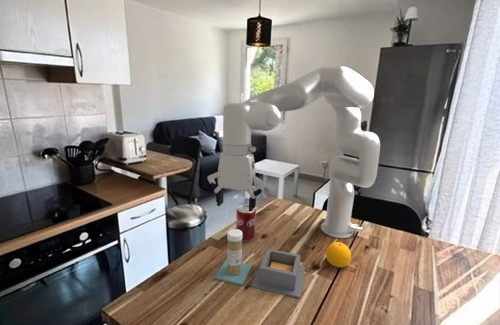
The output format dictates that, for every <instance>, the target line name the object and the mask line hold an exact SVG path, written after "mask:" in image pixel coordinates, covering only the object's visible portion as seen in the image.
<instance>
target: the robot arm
mask: <svg viewBox="0 0 500 325" xmlns="http://www.w3.org/2000/svg"><path fill="white" fill-rule="evenodd" d="M374 93H375V92H374V88H373V85H372V84H371V83H370V81H368V80H367V79H365V78H364V77H363V76H362V75H360V74H359V73H358V72H356V71H355V70H353V69H351V68H349V67H346V66H343V65H338V66H337V65H336V66H324V67H318V68H316V69H314V70H312V71H310V72H308V73H306V74H304V75H302V76H300V77H299V78H297V79H295V80H293V81H291V82H289V83H286V84H282V85H280V86H277V87H274V88H271V89H268V90H265V91H262V92H261V93H258V94H256V95H254V96H252V97H250V98H248V99H246V100H244V101H243V102H229V103H226V104H224V106H223V110H222V111H223V112H222V113H223V114H222V116H223V117H222V120H223V121H222V122H223V123H222V152H221V153H220V155H219V156H220V157H219V162H218V168H217V172H215V173H213V174H210V175H208V176H207V177H206V178H207V180H208V183H209V184H210V187H211V188H212V189H213V192H214V193H215V202H216V206H217V207H220V206H221V205H223V203H224V189H226V190H233V191H240V192H241V191H242V192H247V194H248V195H249V199H248V205H249V211H252V210H253V208H255V209H256V207H257V197H258V196H259V195H260V194H262V192H263V191H264V189H265V188H266V186H267V182H265V181H264V180H263V179H261V178H259V177H258V176H256V164H255V157H254V154H253V153H255V152H256V146H253V145H252V131H262V132H269V131H272V130H275V129H276V128H277V127H278V126H279V124H280V123H281V121H282V113H281V112H291V111H292V112H293V111H297V110H301V109H302V110H303V109H304V108H305V107H308V106H309V105H310V104H312V103H314V102H315V101H317V100H319V99H321V98H322V97H324V100H325V101H326V103H328V104H329V105H330V106H331V109H332V110H333V111H334V113H335V116H336V120H335V121H336V124H335V125H336V126H335V137H334V138H335V143H334V145H335V149H336V151H337V152H339V153H340V154H344V155H337V156H335V157H332V159H331V161H330V163H329V166H328V167H329V168H328V172H329V189H328V190H329V191H328V199H327V207H326V215H325V221H324V222H322V224H320V229H321V231H322V232H323V233H324V234H325V235H328V236H330V237H332V238H336V239H348V238H351V237H352V236H353V233H354V232H357V233H358V232H359V233H362V232H363V227H362V226H359V224H356V223H352V221H351V218H352V214H353V212H352V211H353V206H354V199H355V188H354V186H357V187H358V188H359V187H360V188H363V189H364V188H365V189H367V188H370V187H372V186H373V185H374V184H375V182H376V178H377V175H378V169H379V160H380V154H381V152H380V151H381V141H380V137H379V136H378V135H377V134H376V133H374V132H371V131H364V130H362V127H361V125H362V113H361V110H360V109H364V108H366V107H368V106H369V105H370V104H371V103H372V101H373V98H374V96H375V95H374ZM347 155H348V156H347ZM350 156H352V157H350ZM355 157H356V158H355ZM357 158H358V159H357ZM215 179H217V182H216V181H215ZM256 184H257V185H258V186H259V187H258V188H257V189H256V188H255V185H256Z"/></svg>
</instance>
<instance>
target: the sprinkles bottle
mask: <svg viewBox="0 0 500 325" xmlns="http://www.w3.org/2000/svg"><path fill="white" fill-rule="evenodd" d="M226 238H227V247H226V248H227V252H226V254H227V257H226V258H227V259H226V260H227V262H228V265H227V272H228V273H229V274H231V275H237V274H239V273H240V272H241V263H242V259H243V258H242V257H243V256H242V254H243V245H242V243H243V241H242V231H241V230H238V229H236V228H231V229H229V230H228V231H227V236H226Z"/></svg>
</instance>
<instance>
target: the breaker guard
mask: <svg viewBox="0 0 500 325" xmlns="http://www.w3.org/2000/svg"><path fill="white" fill-rule="evenodd" d="M271 262H277V263H282V264H286V265H291V266H293V271H292V272H288V271H284V270H279V269H275V268H270V265H271ZM300 262H301V254H297V253H292V252H288V251H282V250H277V249H271V248H267V251H266V253H265V255H264V256H263V258H262V260H261V262H260V265H259V267H258V269H257V271H256V273H255V276H254V277H253V278H254V279H253V281H252V283H251V287H252V288H256V289H259V290H264V291H268V292H272V293H276V294H279V295H285V296H287V297H288V296H289V297H292V298H295V299H301V296H302V295H301V294H302V290H303V284H304V279H305V278H304V277H305V271H306V266H305V265H303V264H302V265H301V264H300Z"/></svg>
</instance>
